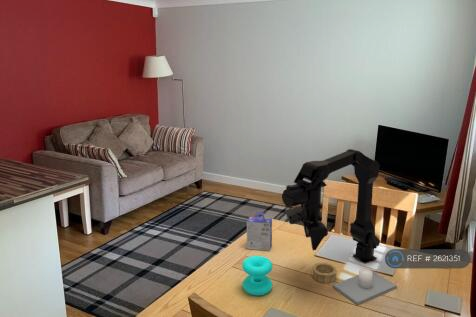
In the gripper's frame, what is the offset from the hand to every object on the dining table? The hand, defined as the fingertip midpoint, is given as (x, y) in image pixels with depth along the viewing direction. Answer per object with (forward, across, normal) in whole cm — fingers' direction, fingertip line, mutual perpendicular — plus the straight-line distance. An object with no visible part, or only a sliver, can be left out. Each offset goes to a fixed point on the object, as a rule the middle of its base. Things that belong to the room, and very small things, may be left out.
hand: (310, 243), depth 129 cm
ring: (+14, -1, +5) cm, 15 cm away
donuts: (+14, +4, -19) cm, 24 cm away
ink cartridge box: (+14, -24, -15) cm, 32 cm away
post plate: (+14, +7, +17) cm, 23 cm away
